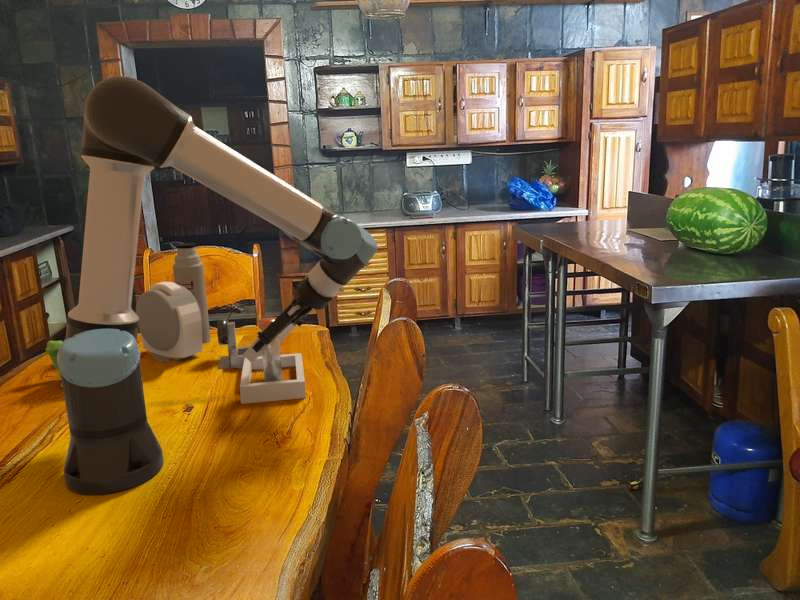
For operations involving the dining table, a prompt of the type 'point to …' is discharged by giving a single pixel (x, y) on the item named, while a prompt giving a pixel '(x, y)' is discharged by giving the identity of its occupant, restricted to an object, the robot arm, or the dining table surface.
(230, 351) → the block
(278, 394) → the tray
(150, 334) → the beige rounded housing
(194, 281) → the thermos bottle
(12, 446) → the dining table surface
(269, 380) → the pin
